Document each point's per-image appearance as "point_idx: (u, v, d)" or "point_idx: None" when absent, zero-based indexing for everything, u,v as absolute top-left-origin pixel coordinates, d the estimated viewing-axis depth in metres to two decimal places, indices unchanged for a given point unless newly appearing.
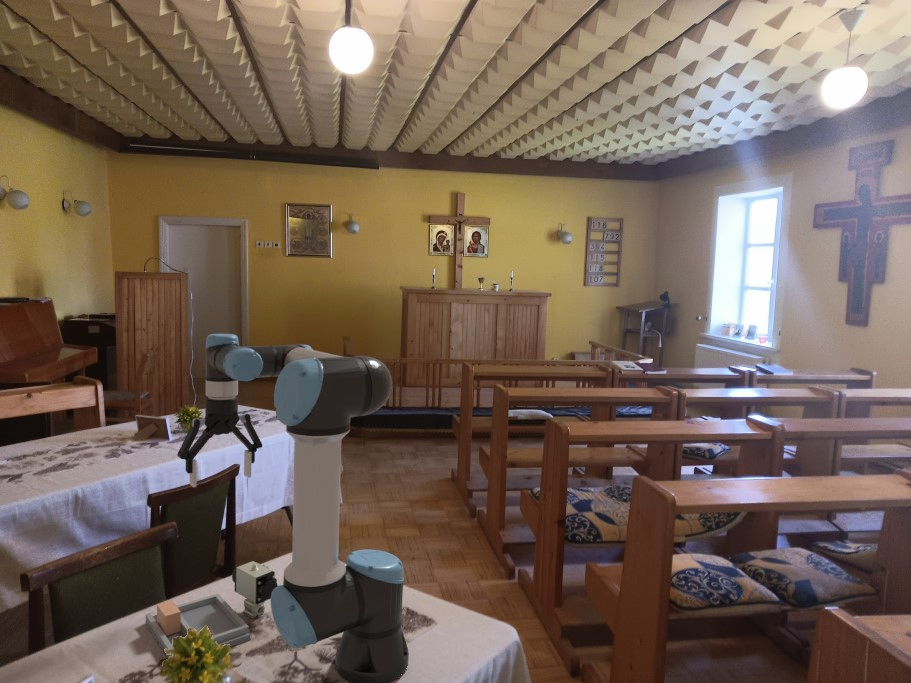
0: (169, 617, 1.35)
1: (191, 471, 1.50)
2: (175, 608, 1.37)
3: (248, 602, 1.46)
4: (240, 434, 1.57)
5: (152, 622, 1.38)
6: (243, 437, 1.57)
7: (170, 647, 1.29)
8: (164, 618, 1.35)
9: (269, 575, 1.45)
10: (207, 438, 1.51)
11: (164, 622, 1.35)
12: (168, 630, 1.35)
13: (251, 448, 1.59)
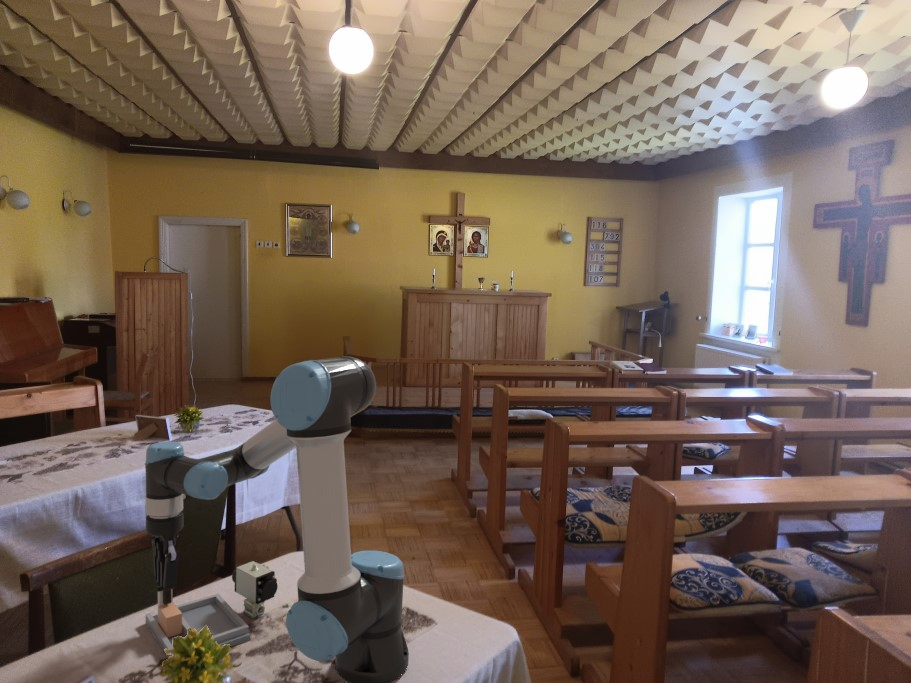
0: (170, 619, 1.34)
1: None
2: (177, 610, 1.37)
3: (248, 602, 1.46)
4: (161, 564, 1.37)
5: (152, 622, 1.38)
6: (161, 569, 1.37)
7: (170, 647, 1.29)
8: (165, 620, 1.34)
9: (269, 575, 1.45)
10: (157, 558, 1.39)
11: (165, 624, 1.34)
12: (169, 632, 1.34)
13: (160, 585, 1.38)
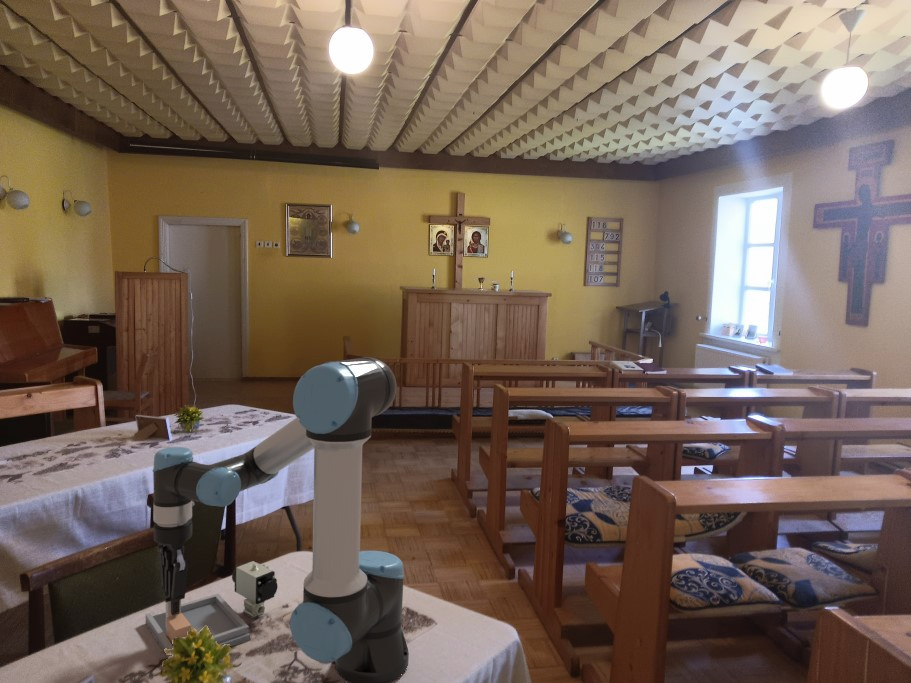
0: (179, 631, 1.30)
1: None
2: (186, 622, 1.32)
3: (248, 602, 1.46)
4: (169, 574, 1.33)
5: (152, 622, 1.38)
6: (169, 579, 1.33)
7: (170, 647, 1.29)
8: (174, 632, 1.30)
9: (269, 575, 1.45)
10: (165, 568, 1.34)
11: (174, 636, 1.30)
12: None
13: (168, 595, 1.33)
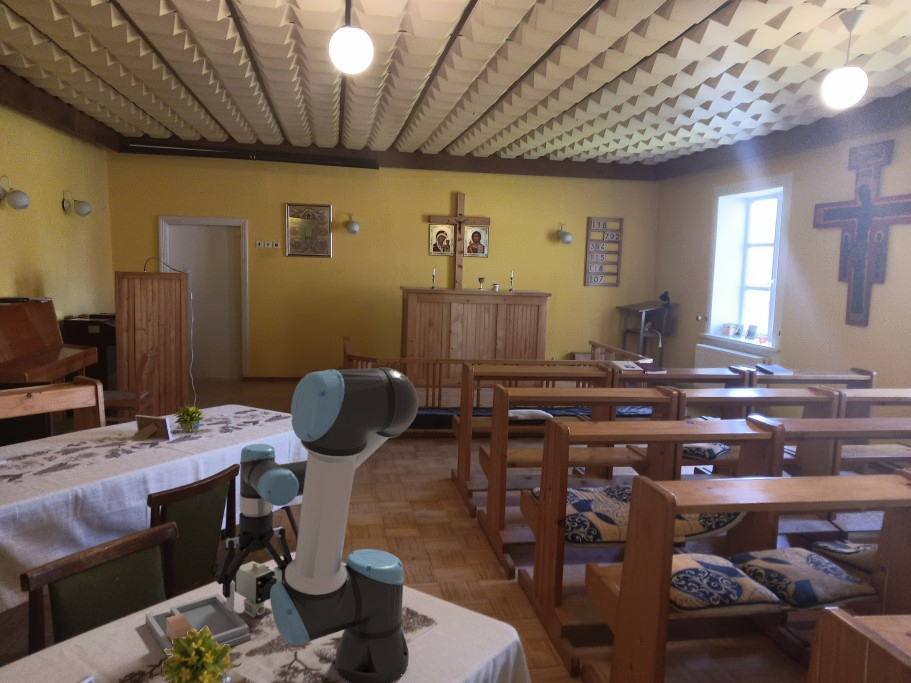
0: (179, 631, 1.30)
1: (229, 594, 1.43)
2: (186, 622, 1.32)
3: (248, 602, 1.46)
4: (273, 551, 1.48)
5: (152, 622, 1.38)
6: (275, 554, 1.49)
7: (170, 647, 1.29)
8: (174, 632, 1.30)
9: (269, 575, 1.45)
10: (243, 558, 1.43)
11: (174, 637, 1.30)
12: None
13: (282, 566, 1.50)
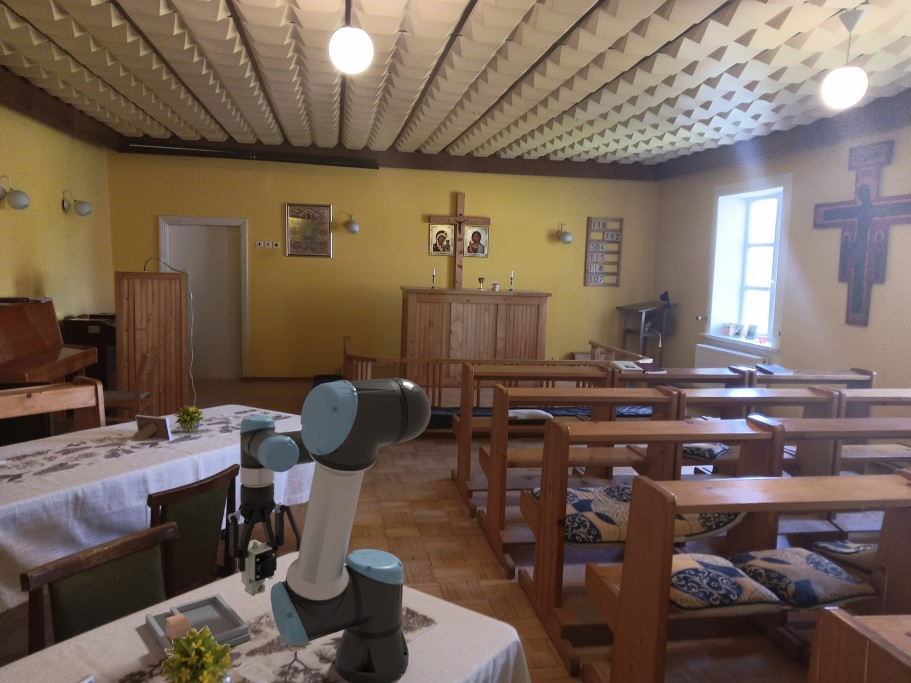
0: (179, 631, 1.30)
1: (244, 569, 1.44)
2: (186, 622, 1.32)
3: None
4: (269, 527, 1.47)
5: (152, 622, 1.38)
6: (271, 531, 1.47)
7: (170, 647, 1.29)
8: (174, 632, 1.30)
9: (268, 552, 1.43)
10: (250, 530, 1.43)
11: (174, 637, 1.30)
12: None
13: (273, 546, 1.47)
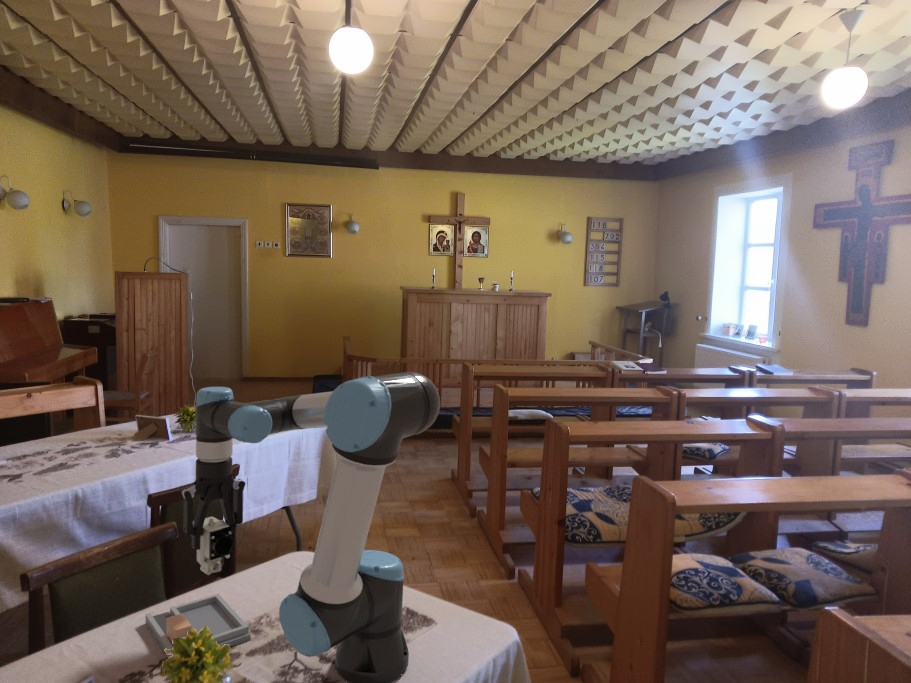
0: (179, 631, 1.30)
1: (199, 547, 1.37)
2: (186, 622, 1.32)
3: (204, 558, 1.38)
4: (227, 504, 1.40)
5: (152, 622, 1.38)
6: (228, 508, 1.40)
7: (170, 647, 1.29)
8: (174, 632, 1.30)
9: (224, 530, 1.37)
10: (206, 507, 1.36)
11: (174, 637, 1.30)
12: None
13: (230, 524, 1.41)
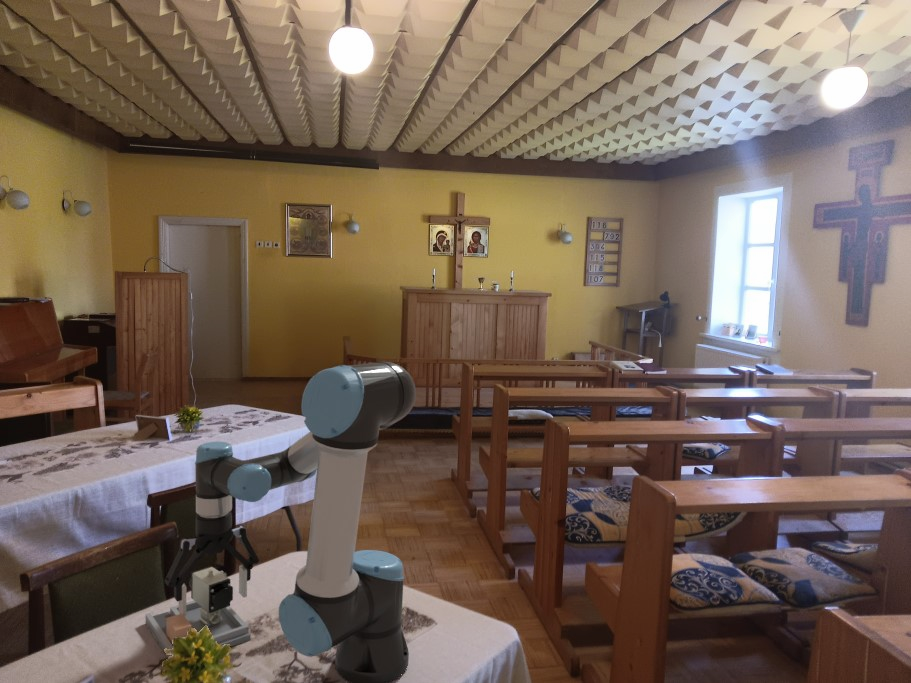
0: (179, 631, 1.30)
1: (181, 598, 1.35)
2: (186, 622, 1.32)
3: (203, 610, 1.40)
4: (234, 551, 1.42)
5: (152, 622, 1.38)
6: (238, 554, 1.42)
7: (170, 647, 1.29)
8: (174, 632, 1.30)
9: (223, 583, 1.38)
10: (198, 560, 1.37)
11: (174, 637, 1.30)
12: None
13: (246, 565, 1.44)
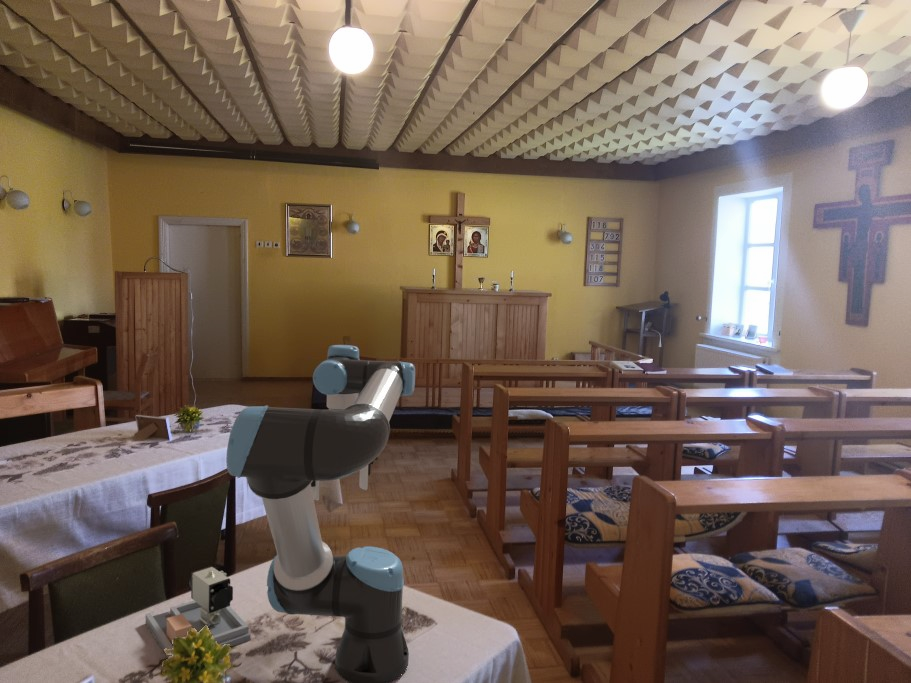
0: (179, 632, 1.30)
1: (314, 484, 1.48)
2: (186, 622, 1.32)
3: (203, 610, 1.40)
4: None
5: (152, 622, 1.38)
6: None
7: (170, 647, 1.29)
8: (174, 633, 1.30)
9: (223, 583, 1.38)
10: None
11: (174, 637, 1.30)
12: None
13: None
